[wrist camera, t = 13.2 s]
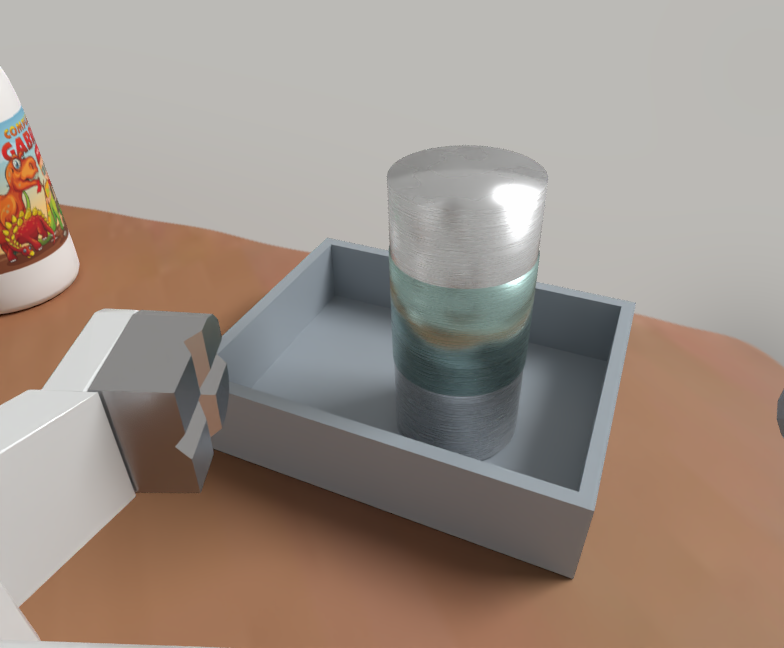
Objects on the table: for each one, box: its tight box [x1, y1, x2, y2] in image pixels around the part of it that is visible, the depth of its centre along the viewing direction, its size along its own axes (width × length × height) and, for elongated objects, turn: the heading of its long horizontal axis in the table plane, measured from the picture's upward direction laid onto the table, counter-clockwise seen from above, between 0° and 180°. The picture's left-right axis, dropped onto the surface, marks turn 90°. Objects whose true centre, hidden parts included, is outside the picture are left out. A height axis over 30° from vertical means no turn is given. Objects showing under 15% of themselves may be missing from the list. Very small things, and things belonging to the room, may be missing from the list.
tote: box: [210, 238, 636, 579], centre depth 29 cm, size 17×13×4 cm
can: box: [387, 145, 548, 461], centre depth 25 cm, size 6×6×12 cm
